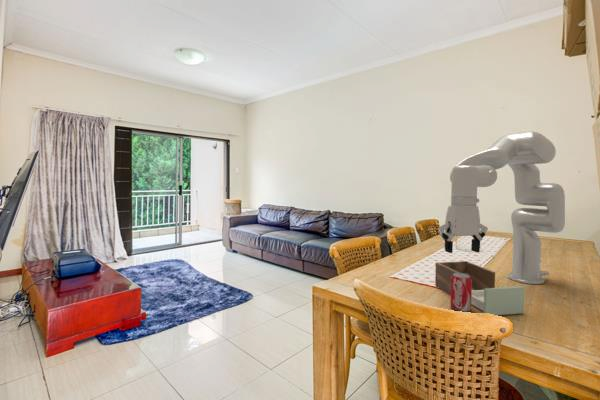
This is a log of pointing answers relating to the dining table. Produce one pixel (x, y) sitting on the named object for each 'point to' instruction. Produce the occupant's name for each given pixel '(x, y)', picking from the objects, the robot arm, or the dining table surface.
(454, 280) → the beverage can
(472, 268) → the box
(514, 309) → the pale green drawer
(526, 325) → the dining table surface
